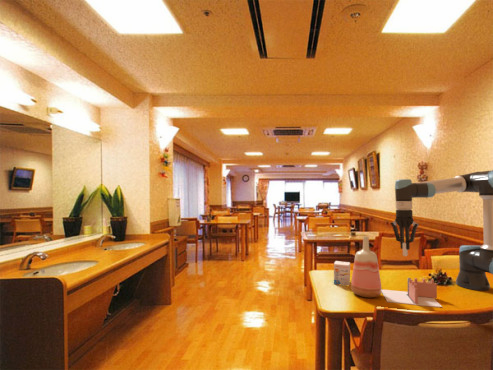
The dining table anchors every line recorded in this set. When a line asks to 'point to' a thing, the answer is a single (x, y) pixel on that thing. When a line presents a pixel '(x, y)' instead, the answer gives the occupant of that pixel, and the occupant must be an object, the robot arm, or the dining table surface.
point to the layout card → (408, 298)
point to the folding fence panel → (413, 291)
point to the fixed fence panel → (425, 288)
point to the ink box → (342, 273)
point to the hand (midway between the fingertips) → (405, 255)
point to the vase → (366, 272)
